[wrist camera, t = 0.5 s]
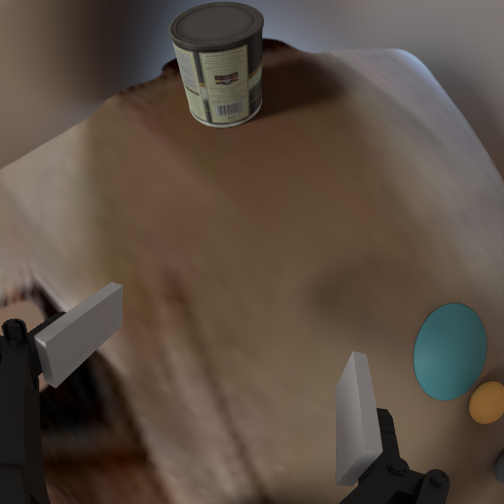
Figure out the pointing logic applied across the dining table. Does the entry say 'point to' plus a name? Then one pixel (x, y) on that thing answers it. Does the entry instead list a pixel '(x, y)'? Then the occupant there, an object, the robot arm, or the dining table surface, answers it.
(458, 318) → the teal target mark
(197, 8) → the coffee can
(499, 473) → the charcoal ball
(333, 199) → the dining table surface
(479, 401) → the orange ball
